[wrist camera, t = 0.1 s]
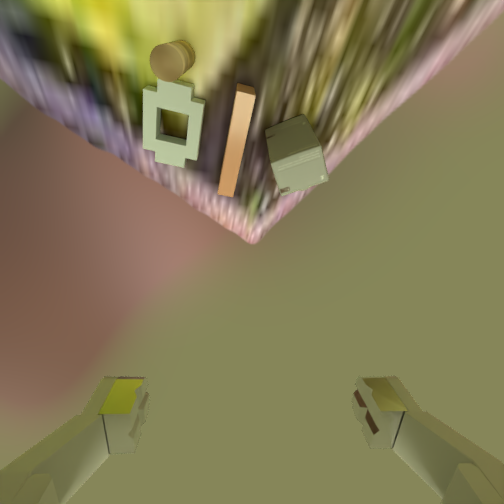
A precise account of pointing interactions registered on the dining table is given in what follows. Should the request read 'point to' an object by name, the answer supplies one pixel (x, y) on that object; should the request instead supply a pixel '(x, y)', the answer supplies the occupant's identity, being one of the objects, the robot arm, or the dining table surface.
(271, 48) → the dining table surface
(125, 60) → the dining table surface
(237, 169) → the wall
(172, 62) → the dowel
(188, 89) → the block
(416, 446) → the robot arm
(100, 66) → the dining table surface
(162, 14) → the dining table surface
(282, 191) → the skincare box
